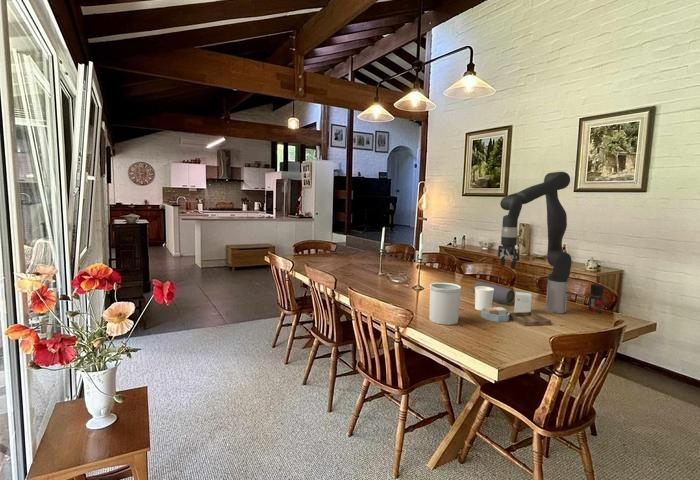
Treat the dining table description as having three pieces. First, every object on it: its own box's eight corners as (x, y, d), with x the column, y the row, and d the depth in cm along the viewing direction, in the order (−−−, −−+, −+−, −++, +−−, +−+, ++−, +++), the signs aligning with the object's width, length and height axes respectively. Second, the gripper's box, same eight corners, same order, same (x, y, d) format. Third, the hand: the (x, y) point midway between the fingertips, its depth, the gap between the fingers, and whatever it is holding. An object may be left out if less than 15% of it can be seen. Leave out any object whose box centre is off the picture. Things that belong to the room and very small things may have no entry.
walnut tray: (530, 316, 195) (531, 311, 194) (550, 326, 181) (551, 320, 181) (506, 317, 192) (506, 312, 191) (524, 327, 178) (525, 322, 178)
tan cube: (492, 316, 192) (492, 307, 191) (497, 318, 187) (497, 310, 187) (484, 316, 191) (484, 307, 190) (488, 319, 187) (489, 310, 186)
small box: (530, 312, 202) (532, 293, 201) (530, 315, 197) (532, 295, 196) (514, 310, 206) (515, 291, 204) (513, 312, 200) (515, 293, 199)
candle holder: (494, 313, 199) (495, 291, 197) (474, 311, 200) (476, 289, 199) (490, 308, 208) (492, 286, 207) (472, 306, 210) (473, 285, 209)
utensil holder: (421, 317, 188) (423, 283, 186) (446, 314, 194) (448, 281, 192) (439, 327, 175) (442, 290, 173) (465, 323, 181) (467, 288, 179)
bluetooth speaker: (514, 304, 216) (516, 287, 215) (505, 307, 211) (506, 289, 210) (481, 295, 235) (482, 279, 234) (471, 297, 230) (472, 281, 229)
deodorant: (587, 311, 207) (590, 284, 205) (589, 309, 211) (592, 283, 210) (599, 313, 203) (602, 286, 201) (602, 311, 207) (605, 285, 206)
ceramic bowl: (498, 314, 197) (499, 307, 197) (514, 322, 185) (515, 314, 184) (476, 314, 195) (477, 307, 194) (490, 323, 182) (491, 315, 182)
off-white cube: (500, 315, 193) (501, 307, 192) (506, 318, 188) (506, 309, 188) (492, 315, 192) (493, 307, 191) (497, 318, 188) (498, 310, 187)
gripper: (525, 237, 185) (523, 269, 187) (507, 234, 199) (505, 264, 201) (511, 237, 183) (509, 270, 185) (494, 234, 197) (492, 265, 199)
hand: (507, 267), depth 193 cm, fingers open, 8 cm apart
